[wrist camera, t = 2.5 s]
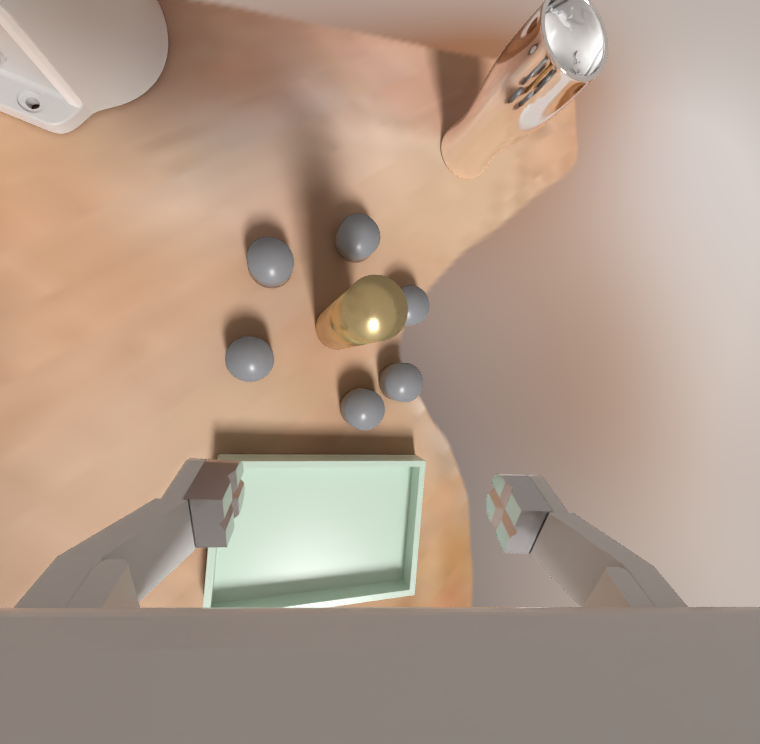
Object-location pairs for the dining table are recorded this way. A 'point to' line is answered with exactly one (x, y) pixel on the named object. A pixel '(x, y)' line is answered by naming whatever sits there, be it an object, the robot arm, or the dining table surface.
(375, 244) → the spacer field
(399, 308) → the gold metal cylinder
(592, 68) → the beer glass
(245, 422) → the dining table surface
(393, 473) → the tray
